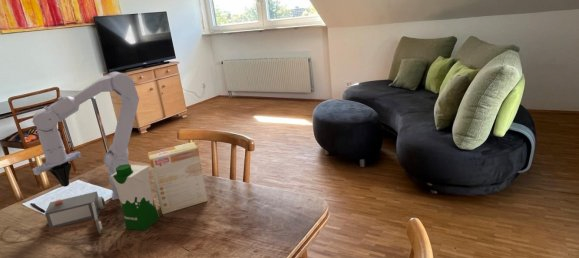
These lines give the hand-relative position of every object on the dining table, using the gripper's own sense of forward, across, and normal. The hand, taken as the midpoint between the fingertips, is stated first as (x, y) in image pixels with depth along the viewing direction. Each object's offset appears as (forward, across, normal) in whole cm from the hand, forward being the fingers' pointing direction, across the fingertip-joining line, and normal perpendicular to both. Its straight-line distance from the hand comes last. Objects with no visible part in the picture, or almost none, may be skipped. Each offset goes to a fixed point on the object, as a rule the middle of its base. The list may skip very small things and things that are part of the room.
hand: (65, 185), depth 121 cm
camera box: (+10, +2, +4) cm, 11 cm away
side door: (+9, +3, +17) cm, 20 cm away
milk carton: (+10, -3, +30) cm, 32 cm away
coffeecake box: (+10, -17, +34) cm, 39 cm away
